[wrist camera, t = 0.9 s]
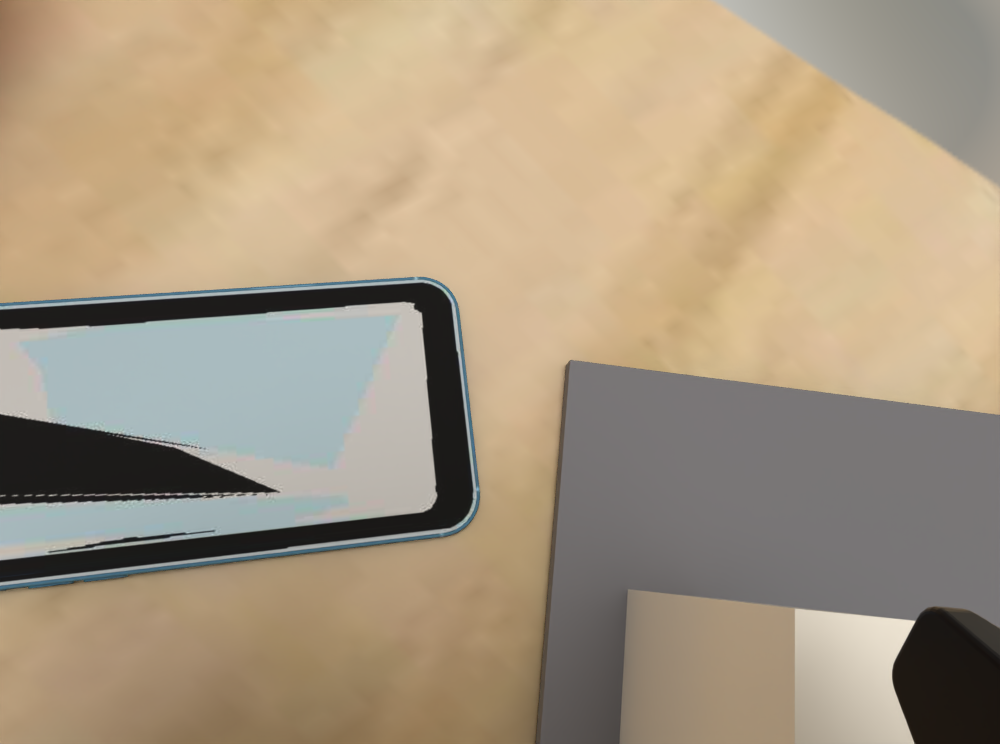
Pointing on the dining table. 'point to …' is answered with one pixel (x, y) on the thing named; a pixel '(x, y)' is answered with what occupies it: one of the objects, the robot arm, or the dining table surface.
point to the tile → (757, 674)
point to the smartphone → (229, 427)
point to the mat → (752, 515)
